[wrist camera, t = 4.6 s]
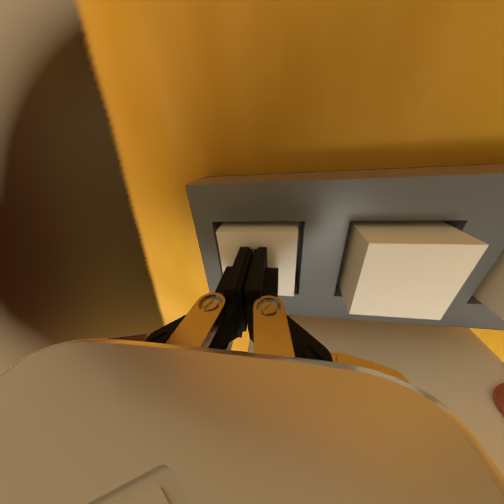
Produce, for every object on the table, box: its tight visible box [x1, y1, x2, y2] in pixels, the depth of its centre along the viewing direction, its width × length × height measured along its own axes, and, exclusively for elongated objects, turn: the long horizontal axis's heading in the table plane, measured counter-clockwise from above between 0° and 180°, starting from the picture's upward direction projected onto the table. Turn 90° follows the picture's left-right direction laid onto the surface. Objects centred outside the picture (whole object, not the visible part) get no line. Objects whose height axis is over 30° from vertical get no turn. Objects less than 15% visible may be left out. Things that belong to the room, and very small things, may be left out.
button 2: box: [216, 221, 298, 296], centre depth 13 cm, size 5×5×3 cm
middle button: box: [337, 220, 489, 320], centre depth 11 cm, size 5×5×3 cm
